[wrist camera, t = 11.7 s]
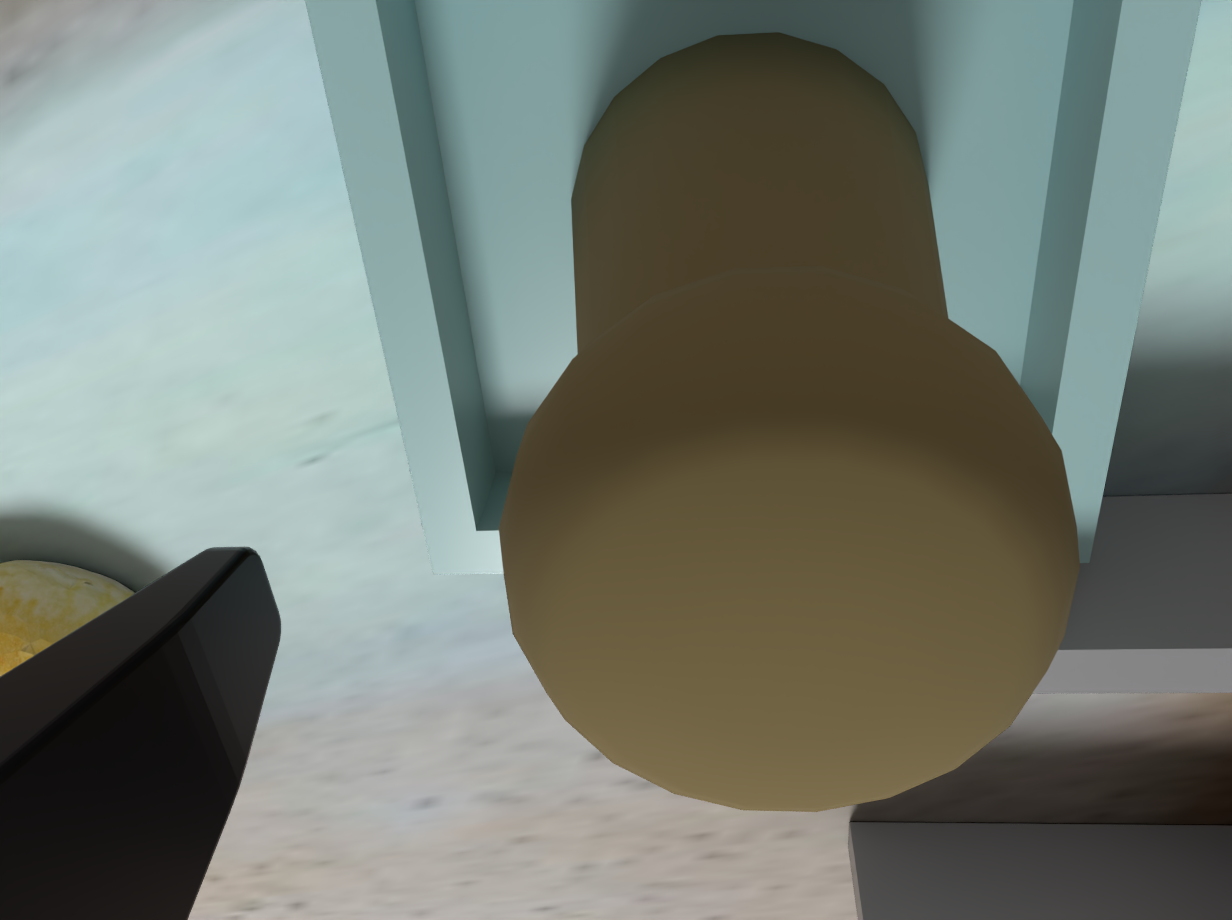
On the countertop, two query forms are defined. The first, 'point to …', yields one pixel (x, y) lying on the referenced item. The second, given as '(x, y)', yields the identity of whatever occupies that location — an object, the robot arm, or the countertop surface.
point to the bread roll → (48, 605)
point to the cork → (779, 454)
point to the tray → (620, 52)
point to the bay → (1092, 663)
